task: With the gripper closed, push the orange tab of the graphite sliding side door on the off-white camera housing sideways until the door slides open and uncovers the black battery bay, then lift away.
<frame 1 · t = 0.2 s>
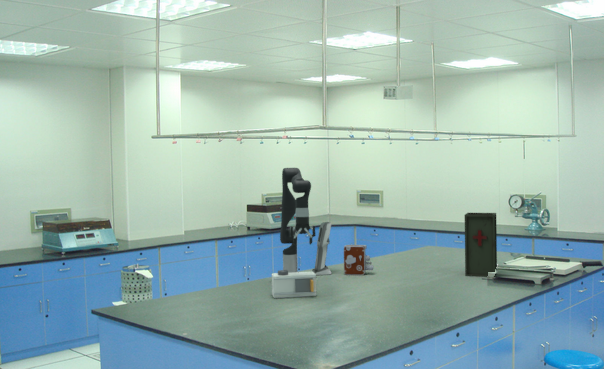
hand: (302, 244, 315), 29 cm above the lab bench, fingers open, 8 cm apart
side door: (304, 285, 311), point 6 cm above the lab bench, slide at 0.0 cm
camera housing: (293, 294, 318), on the lab bench
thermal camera: (321, 273, 383), on the lab bench
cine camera: (358, 274, 378), on the lab bench
first aid box: (481, 274, 370), on the lab bench
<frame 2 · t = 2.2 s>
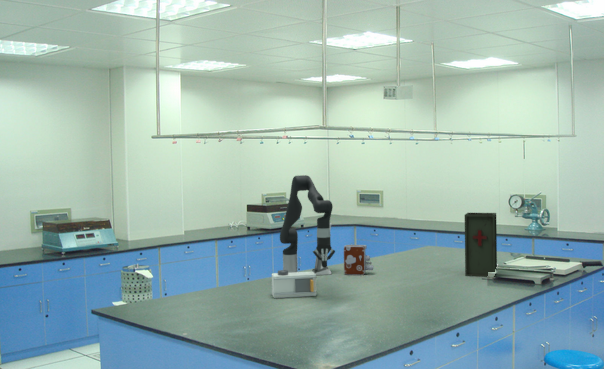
hand: (324, 267, 311), 17 cm above the lab bench, fingers closed
nothing on the lab bench moved.
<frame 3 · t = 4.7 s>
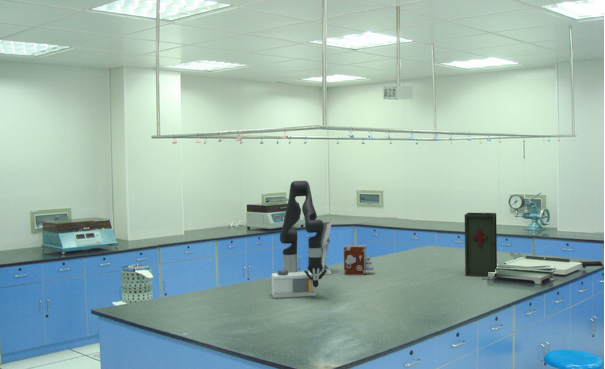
hand: (315, 286, 311), 6 cm above the lab bench, fingers closed
side door: (302, 286, 311), point 7 cm above the lab bench, slide at 1.2 cm, touching gripper
everything else where it was.
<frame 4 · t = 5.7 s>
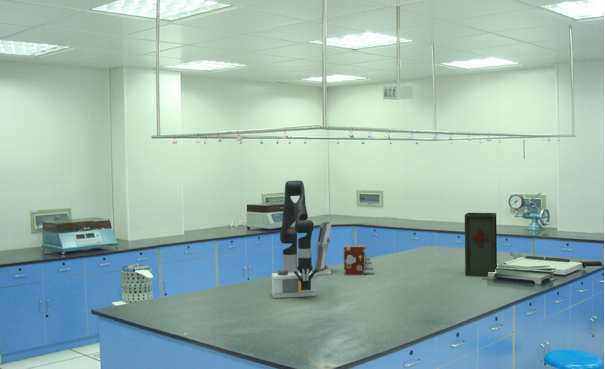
hand: (305, 287, 310), 6 cm above the lab bench, fingers closed
side door: (292, 286, 310), point 7 cm above the lab bench, slide at 7.0 cm, touching gripper
everything else where it was.
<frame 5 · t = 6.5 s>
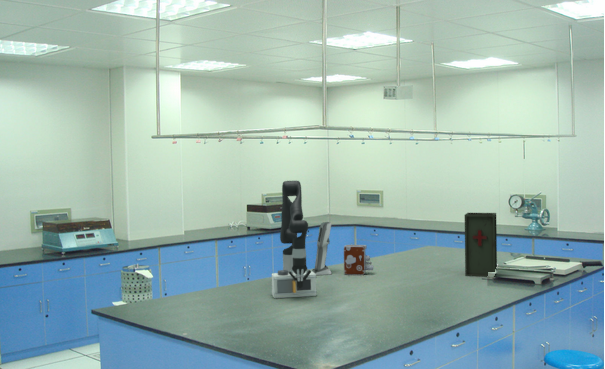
hand: (300, 287, 309), 6 cm above the lab bench, fingers closed
side door: (286, 286, 310), point 7 cm above the lab bench, slide at 10.0 cm, touching gripper
everything else where it was.
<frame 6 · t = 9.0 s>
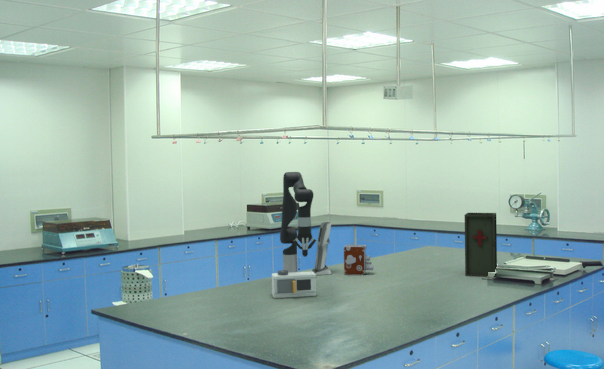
hand: (304, 256, 311), 23 cm above the lab bench, fingers closed
side door: (286, 286, 310), point 6 cm above the lab bench, slide at 10.0 cm
everything else where it was.
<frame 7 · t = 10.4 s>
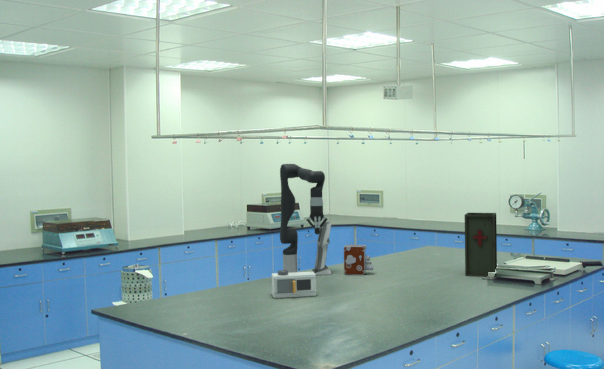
hand: (317, 234, 330), 33 cm above the lab bench, fingers closed
nothing on the lab bench moved.
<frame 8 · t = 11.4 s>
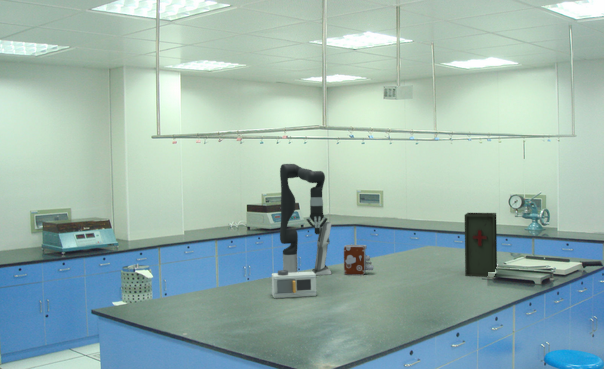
hand: (317, 234, 330), 33 cm above the lab bench, fingers closed
nothing on the lab bench moved.
at the end: side door slide at 10.0 cm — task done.
